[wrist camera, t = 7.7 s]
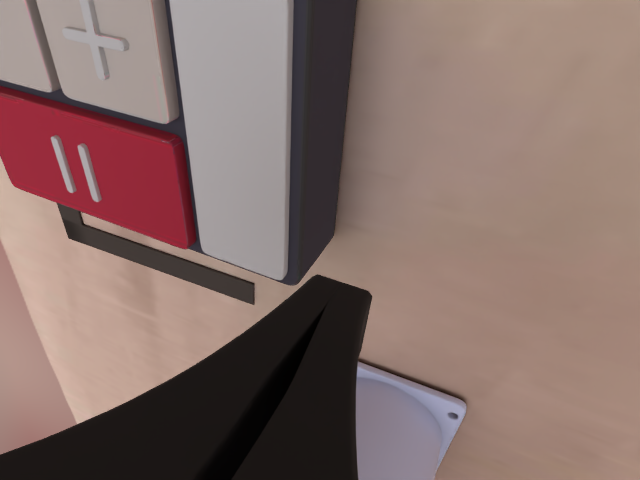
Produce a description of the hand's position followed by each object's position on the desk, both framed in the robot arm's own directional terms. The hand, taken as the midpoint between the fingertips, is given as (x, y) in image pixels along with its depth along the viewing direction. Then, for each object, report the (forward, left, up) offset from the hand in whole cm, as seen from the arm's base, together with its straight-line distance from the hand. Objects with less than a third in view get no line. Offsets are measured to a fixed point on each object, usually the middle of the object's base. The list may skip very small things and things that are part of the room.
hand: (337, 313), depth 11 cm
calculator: (+1, +10, -9) cm, 13 cm away
